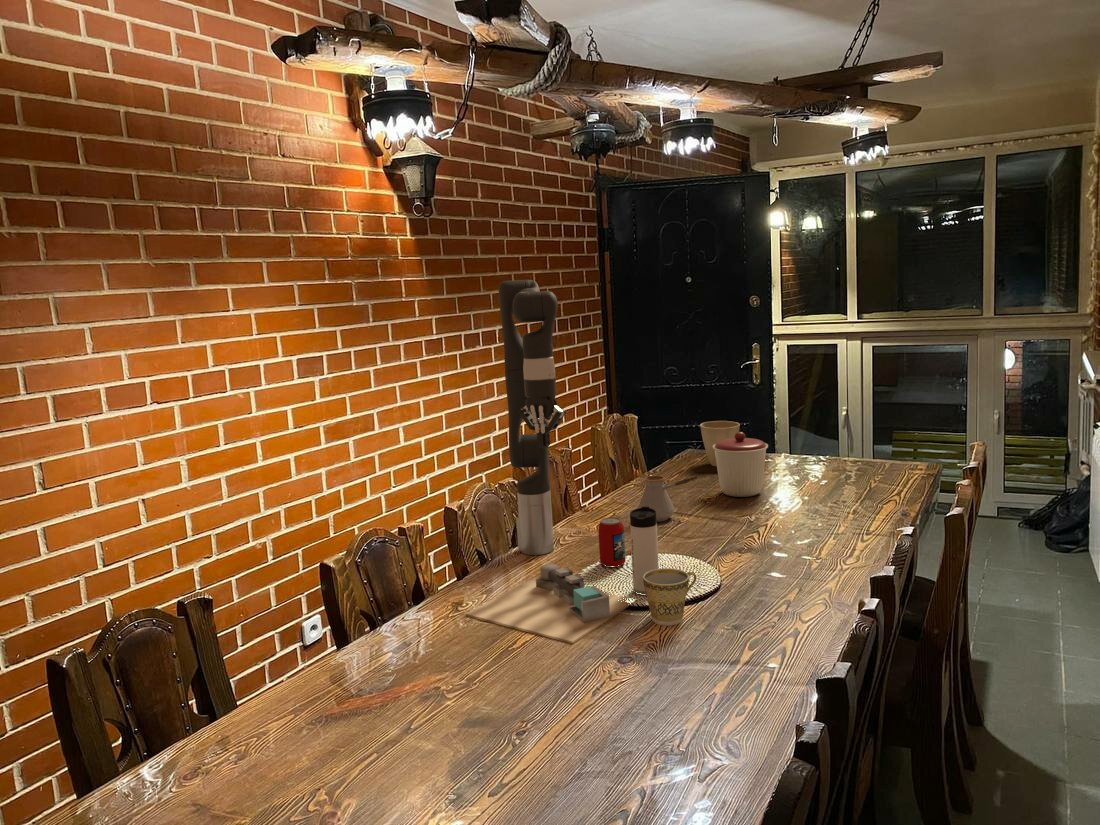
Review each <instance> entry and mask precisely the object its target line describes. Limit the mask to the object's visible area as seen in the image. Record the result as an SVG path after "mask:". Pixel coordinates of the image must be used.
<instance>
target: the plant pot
mask: <svg viewBox="0 0 1100 825" xmlns="http://www.w3.org/2000/svg"><path fill="white" fill-rule="evenodd" d="M740 424H741V423H739V422H735V421H728V420H714V421H713V420H712V421H706V422H702V423H700V424H699V425H700V432H701V437H702V441H703V446H704V449H705V452H706V455H707V458H708V461H709V463H710V465H711V466H712V467H717V463H716V456H715V450H714V449H713V445H714V444H716V443H717V442H719V441H721V440H725V439H731V438H735V437H734V435H735V433H737V432H740Z"/></svg>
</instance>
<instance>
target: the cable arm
mask: <svg viewBox="0 0 1100 825" xmlns="http://www.w3.org/2000/svg"><path fill="white" fill-rule="evenodd" d="M539 568H540V577H541V578H542V579H545V580H553V581H554V582H555V583H557V584H558V585H559V586H561V587H562V588H563V589H565V590H566V591H567V592H569V593H570V594H571V595H573V596H574V605H575V606H576V607H577V608H579V609H580V610H581V601H584V600H589V599H593V598H597V597H600V595H599V593H598V592H597V591H595V590H594V589H593V588H591V587H592V586H589V585H588V586H584V587H583V588H580V587H578V586H577V585H576V584H574V583H573V584H571V583H569V582H568V581H566V580H565V577H564V576H562V577H560V576H559V575H557V574H556V573H555V570H557V569H559V565H557V564H556V563H555V564H554V563H547V564H544V565H541V566H540V567H539Z"/></svg>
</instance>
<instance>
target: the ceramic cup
mask: <svg viewBox="0 0 1100 825" xmlns="http://www.w3.org/2000/svg"><path fill="white" fill-rule="evenodd" d="M691 576H693V580H692V582H691V583H690V577H691ZM696 582H697V575H696V573H694V572H692V571H690V572H689V571H687V572H686V571H684V570H681V569H678V568H677V569H676V568H671V567H670V568H668V567H665V568H659V569H655V570H651V571H648V572H646V573H645V574H644V575H643V583H644V588H645V592H646V595H647V596H646V599H647V604H648V608H649V612H650V618H651V621H652V622H654V623H655V624H657V625H658V626H665V627H666V626H667V627H669V626H670V627H672V626H676V625H679V624H681V623H682V621H683V618H684V615H685V614H684V612H685V603H686V600H687V595H688V593H689V592H690V589H691V588H692V587H693V586H694V585H695V584H696ZM689 583H690V584H689Z"/></svg>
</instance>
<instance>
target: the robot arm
mask: <svg viewBox="0 0 1100 825" xmlns="http://www.w3.org/2000/svg"><path fill="white" fill-rule="evenodd" d="M557 298H558V297H557V296H556V294H554V292H552V291H549V290H542V291H541V289H540V287H539V285H538V282H537V281H535V280H532V279H516V280H515V279H513V280H512V279H511V280H503V281H501V282H500V283H499V285H498V303H499V304H498V305H499V312H500V320H501V327H502V328H501V329H502V337H503V339H502V340H503V355H504V356H503V357H504V358H503V359H504V380H505V388H506V390H505V391H506V399H507V410H508V415H507V416H508V453H509V455H508V456H509V461H510V465H511V466H512V467H513V468H514V469H525V468H537V469H536V470H535V471H534V472H533V473H531V474H529V476H526V477H523V478H521V479H519V480H518V481H517V483H516V492H517V494H516V495H517V504H518V505H517V506H518V508H517V509H518V517H516V520H515V521H516V532H517V534H516V536H517V548H518V549H517V550H518V551H519V552H521V553H522V554H525V555H528V556H529V555H530V556H541V555H542V556H543V555H546V554H549V553H551V552H553V551H554V549H555V546H554V544H555V543H554V528H553V527H554V526H553V512H552V511H553V510H552V499H551V497H552V496H551V484H550V483H551V482H550V469H549V468H550V464H549V463H550V461H549V457H550V456H549V453H550V452H549V448H550V445H551V436H550V435H551V434H550V433H551V432H552V431H553V430H554V431H556V430H557V429H558V427H559V425H560V424H561V421H562V420H563V419H564V417H565V415H566V414H567V413H566V410H565V409H561V408H560V407H559V406H558V402H557V399H556V397H557V382H556V381H557V379H556V367H555V366H556V365H555V359H554V348H553V347H554V346H553V334H554V326H555V322H556V317H557V313H558V305H559V303H558V299H557ZM513 316H514V318H515V319H516V321H517V322H519V323H539V322H542V325H541V327H540V328H539V329H537V330H534V331H531V332H528V333H525V334H524V335H523V336H521V335H520V332H519V331H518V328H517V327H516V324H515V322H514V318H513ZM523 421H524V422H525V423H526V426H527V427H528V428H529V430H530V431H534V432H535V433H524V434H522V433H521V432H520V430H521V425H522V422H523Z"/></svg>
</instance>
